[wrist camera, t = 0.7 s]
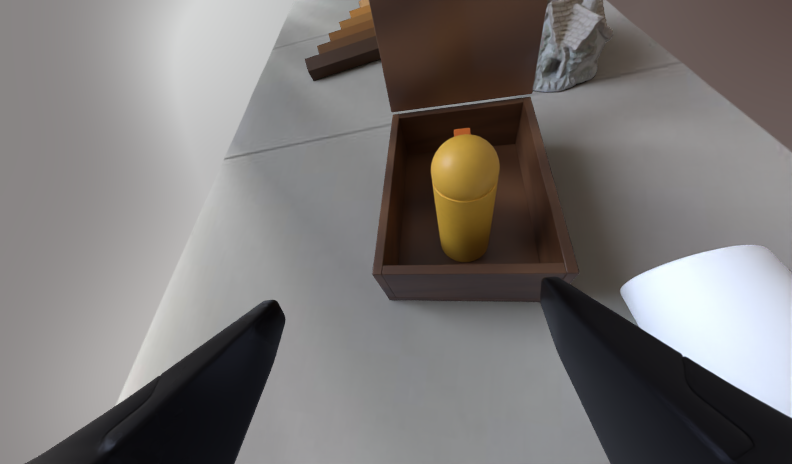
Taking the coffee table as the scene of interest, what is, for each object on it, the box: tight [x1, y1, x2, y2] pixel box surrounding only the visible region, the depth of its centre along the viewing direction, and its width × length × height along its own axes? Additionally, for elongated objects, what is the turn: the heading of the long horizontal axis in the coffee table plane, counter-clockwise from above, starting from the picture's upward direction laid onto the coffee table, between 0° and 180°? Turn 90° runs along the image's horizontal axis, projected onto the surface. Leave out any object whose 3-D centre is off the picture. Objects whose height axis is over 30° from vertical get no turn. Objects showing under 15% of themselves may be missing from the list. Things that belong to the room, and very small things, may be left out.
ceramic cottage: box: [533, 0, 613, 92], centre depth 36 cm, size 16×16×15 cm
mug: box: [620, 245, 792, 418], centre depth 17 cm, size 12×10×8 cm
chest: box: [372, 97, 579, 302], centre depth 28 cm, size 20×15×6 cm
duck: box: [431, 128, 500, 262], centre depth 23 cm, size 6×5×12 cm
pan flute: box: [305, 0, 381, 81], centre depth 57 cm, size 25×3×25 cm
